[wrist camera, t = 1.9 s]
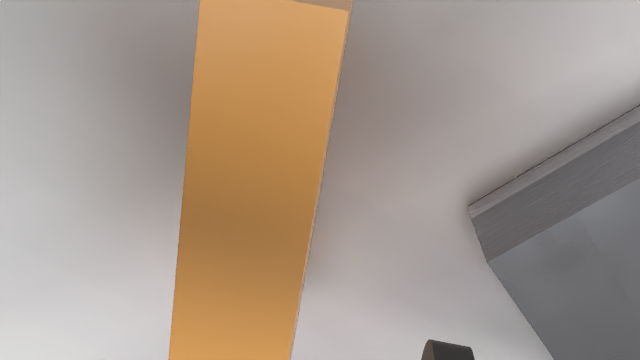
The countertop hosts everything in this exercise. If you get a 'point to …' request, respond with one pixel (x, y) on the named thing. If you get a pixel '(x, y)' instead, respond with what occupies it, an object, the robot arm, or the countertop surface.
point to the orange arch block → (254, 173)
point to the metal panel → (573, 244)
